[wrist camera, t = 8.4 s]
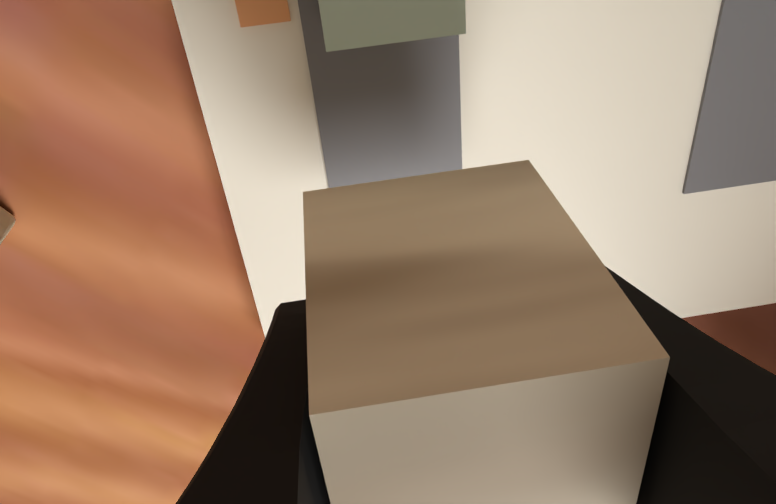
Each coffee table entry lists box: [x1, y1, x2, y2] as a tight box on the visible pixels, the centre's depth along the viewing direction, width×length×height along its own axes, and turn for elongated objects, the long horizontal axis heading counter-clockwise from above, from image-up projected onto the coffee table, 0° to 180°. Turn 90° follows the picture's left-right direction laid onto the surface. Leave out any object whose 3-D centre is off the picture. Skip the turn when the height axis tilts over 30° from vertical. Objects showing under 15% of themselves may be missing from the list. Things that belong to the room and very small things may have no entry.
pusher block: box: [303, 160, 670, 504], centre depth 10 cm, size 4×4×5 cm
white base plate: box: [171, 0, 776, 337], centre depth 15 cm, size 14×17×2 cm
